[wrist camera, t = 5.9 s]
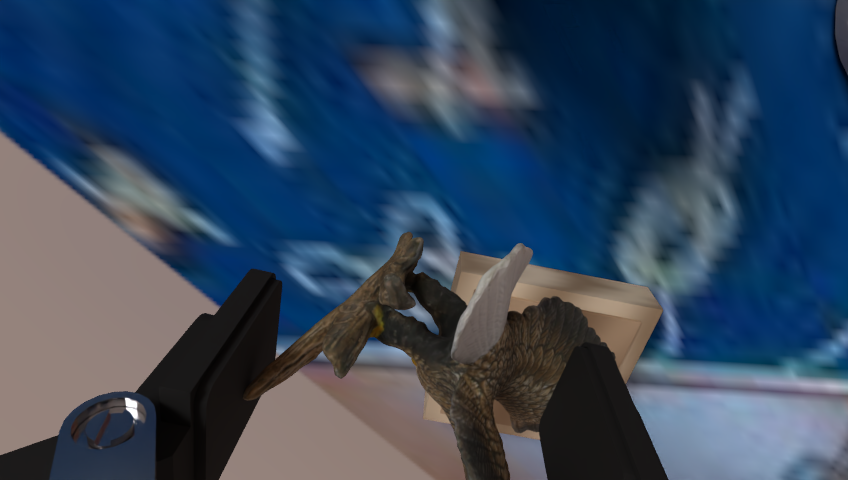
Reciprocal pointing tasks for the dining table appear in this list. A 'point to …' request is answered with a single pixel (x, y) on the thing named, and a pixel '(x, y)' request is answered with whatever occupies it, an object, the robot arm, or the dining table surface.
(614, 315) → the tan wooden tray
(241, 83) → the dining table surface
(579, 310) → the brown bird figurine
